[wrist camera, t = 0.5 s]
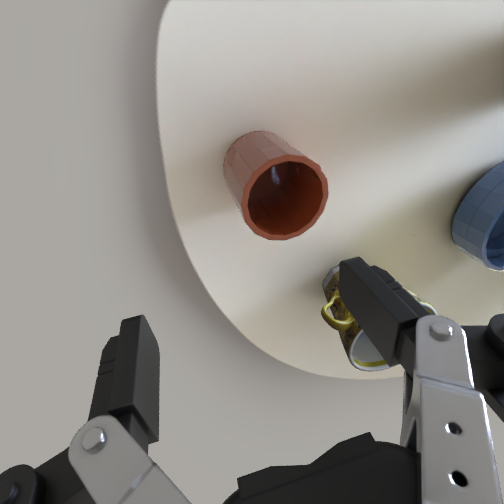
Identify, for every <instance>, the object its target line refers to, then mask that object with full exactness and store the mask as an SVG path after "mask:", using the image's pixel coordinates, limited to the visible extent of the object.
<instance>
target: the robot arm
mask: <svg viewBox="0 0 504 504" xmlns="http://www.w3.org/2000/svg"><path fill="white" fill-rule="evenodd" d="M339 295H340V298H341V300H342V302H343V304H344V305H345V306H346V308H347V309H348V311H349V312H350V313H351V315H352V316H353V317H354V319H355V320H356V322H357V323H358V324H359V326H360V327H361V328H362V330H363V331H364V332H365V334H366V335H367V337H368V338H369V339H370V341H371V342H372V343H373V345H374V346H375V348H376V349H377V350H378V352H379V353H380V354H381V356H382V357H383V358H384V360H385V361H386V363H387V364H388V365H389V367H392V366H395V365H398V364H401V365H402V367H403V368H404V369H405V371H404V387H403V388H404V390H403V419H402V429H401V436H400V445H398V444H393V443H389V442H381V441H375V440H374V438H373V437H372V435H371V433H370V432H368V433H365V434H362V435H359V436H356V437H353V438H350V439H348V440H345V441H342V442H340V443H337V444H336V445H335V446H333V447H332V448H331V449H330V450H328V451H327V452H326V453H324V454H323V455H322V456H320V457H319V458H318V459H316V460H315V461H314V462H312V463H311V464H308V465H296V466H271V467H268V468H265V469H262V470H259V471H256V472H254V473H251V474H248V475H245V476H242V477H239V478H237V481H238V487H239V489H238V490H237V491H235V492H234V493H233V494H232V495H231V496H229V498H228V499H226V500H225V502H224V503H223V504H503V499H502V494H501V488H500V483H499V477H498V472H497V466H496V461H495V455H494V450H493V444H492V438H491V433H490V427H489V423H488V416H487V411H486V405H485V401H486V403H487V404H488V405H489V406H490V407H491V408H492V410H493V411H494V412H495V413H496V414H497V415H498V416H499V418H500V419H501V420H502V421H503V422H504V314H498V315H495V316H493V317H492V318H491V319H490V322H489V324H488V326H459V325H458V324H457V323H456V322H454V321H453V320H451V319H449V318H446V317H443V316H439V315H432V314H431V313H430V312H429V311H428V310H426V309H425V308H424V307H423V306H422V305H421V304H420V303H419V302H418V301H417V300H416V299H415V298H414V297H413V296H412V295H411V294H410V293H409V292H408V291H407V290H406V289H405V288H403V287H402V286H401V285H400V284H399V283H398V282H397V281H395V279H394V278H393V277H392V276H391V275H390V274H389V273H388V272H387V271H385V270H383V269H381V268H379V267H377V266H375V265H373V266H369V265H368V264H367V263H366V262H365V261H364V260H363V259H362V258H360V257H355V258H351V259H348V260H344V261H341V262H340V264H339ZM159 375H160V353H159V347H158V343H157V340H156V338H155V336H154V334H153V332H152V330H151V328H150V326H149V324H148V322H147V320H146V318H145V316H144V315H139V316H135V317H131V318H128V319H124V320H122V322H121V327H120V334H119V335H118V336H115V337H111V338H110V339H109V341H108V342H107V344H106V346H105V347H104V349H103V351H102V356H101V360H100V366H99V370H98V377H97V379H96V385H95V389H94V394H93V399H92V404H91V408H90V413H89V418H88V421H87V423H86V424H84V425H83V426H82V427H81V428H80V429H79V430H78V432H77V433H76V434H75V436H74V437H73V439H72V441H71V443H70V446H69V447H68V448H67V449H65V450H64V451H63V452H61V453H59V454H58V455H56V456H55V457H53V458H52V459H50V460H48V461H47V462H45V463H44V464H42V465H40V466H39V467H37V468H36V469H33V468H32V467H31V466H28V465H24V464H23V465H17V466H14V467H12V468H9V469H8V470H6V471H4V472H3V473H2V474H0V504H192V503H191V502H190V501H189V500H188V499H187V498H186V497H185V496H184V494H183V493H182V492H181V491H180V490H179V489H178V488H177V486H176V485H175V484H174V483H173V482H172V481H171V480H170V478H169V477H168V476H167V475H166V474H165V473H164V472H163V470H162V469H161V468H160V467H159V466H158V465H157V464H156V463H155V462H154V461H153V460H152V459H151V458H150V457H149V456H148V444H151V443H154V442H157V441H159V377H160V376H159Z"/></svg>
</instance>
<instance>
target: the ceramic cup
mask: <svg viewBox="0 0 504 504" xmlns="http://www.w3.org/2000/svg"><path fill="white" fill-rule="evenodd" d="M369 266H370V265H369ZM322 285H323V290H324V293H325V296H326V299H327V302H328V304H326V305H325V306H324V307H323V308H322V311H321V315H322V317H323V319H324V320H325V321H326V322H327V323H328V324H329V325H330V326H331V327H332V328H334V329H336V330H338V331H339V335H340V338H341V341H342V344H343V346H344V349H345V351H346V354H347V356H348V358H349V361H350V363H351V364H352V365H353V366H354V367H355V368H357V369H359V370H362V371H380V370H384V369H388V368H390V367H389V365H388V364H387V363H386V361H385V360H384V358H383V357H382V356H381V354H380V353H379V352H378V350H377V349H376V348H375V346H374V345H373V343H372V342H371V341H370V339H369V338H368V337H367V335H366V334H365V332H364V331H363V330H362V328H361V327H360V326H359V324H358V323H357V322H356V320H355V319H354V317H353V316H352V315H351V313H350V312H349V311H348V309H347V308H346V306H345V305H344V304H343V302H342V300H341V298H340V295H339V266H337V267H335V268H333V269H331V271H330V272H329V274H328V275H327V277H326V279H325V280H324V282H323V284H322ZM403 288H404V287H403ZM405 289H406V288H405ZM406 290H407V291H408V292H409V293H410V294H411V295H412V296H413V297H414V298H415V299H416V300H417V301H418V302H419V303H420V304H421V305H422V306H423V307H424V308H425V309H426V310H428V311H429V312H430V313H431V314H432V315H437V312H436V311H435V309H434V308H433V307H432V306H431V305H430V304H428V303H427V302H426V301H424V300H423V299H422V298H420V297H419V296H417V295H416V294H414V293H412V292H411V291H409V290H408V289H406ZM329 307H330V309H331V311H332V314H333V316H334V318H332V317H330V316H329V315H328V314H327V312H326V310H327V309H328V308H329ZM395 366H396V365H395ZM392 367H393V366H392Z"/></svg>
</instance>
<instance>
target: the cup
mask: <svg viewBox="0 0 504 504" xmlns="http://www.w3.org/2000/svg"><path fill="white" fill-rule="evenodd" d="M223 172H224V178H225V181H226V184H227V187H228V189H229V191H230V193H231V195H232V197H233V199H234V201H235V203H236V205H237V207H238V209H239V211H240V213H241V215H242V217H243V219H244V221H245V223H246V224H247V225H248V226H249V227H250V229H251V230H252V231H253V232H254V233H255V234H257V235H259V236H261V237H263V238H266V239H268V240H287V239H290V238H293V237H296V236H299V235H301V234H302V233H304V232H305V231H306V230H308V229H309V228H311V227H312V226H313V225H314V224H315V223H316V221H317V220H318V218H319V217H320V216H321V214H322V213H323V211H324V208H325V205H326V202H327V199H328V183H327V178H326V176H325V174H324V173H323V171H322V169H321V167H320V166H319V165H318V164H317V163H315V162H314V161H313V160H311V159H310V158H308V157H307V156H305V155H304V154H302V153H301V152H300V151H298V150H297V149H295V148H294V147H292V146H291V145H289V144H288V143H287V142H285V141H284V140H282V139H281V138H279V137H278V136H276V135H274V134H272V133H269V132H265V131H254V132H250V133H247V134H245V135H243V136H241V137H240V138H238V139H237V140H236V141H235V142H234V143H233V144H232V145H231V147H230V148H229V150H228V152H227V154H226V156H225V159H224V164H223Z"/></svg>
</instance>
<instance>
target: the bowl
mask: <svg viewBox="0 0 504 504" xmlns="http://www.w3.org/2000/svg"><path fill="white" fill-rule="evenodd" d="M452 236H453V242H454V243H455V245H456V246H457V247H458V248H459V249H460V250H461V251H463V252H464V253H466V254H467V255H469V256H470V257H472V258H473V259H475V260H476V261H478V262H479V263H481V264H483V265H484V266H486V267H487V268H489V269H492V270H495V271H504V162H502V163H500V164H499V165H497V166H496V167H494V168H492V169H491V170H490V171H488V172H487V173H486V174H485V175H484V176H483V177H482V178H481V179H480V180H479V181H478V182H477V183H475V185H474V186H473V187H472V188H471V190H470V191H469V192H468V194H467V195H466V196H465V198H464V199H463V200H462V202H461V204H460V206H459V208H458V210H457V212H456V214H455V217H454V221H453V226H452Z"/></svg>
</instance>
